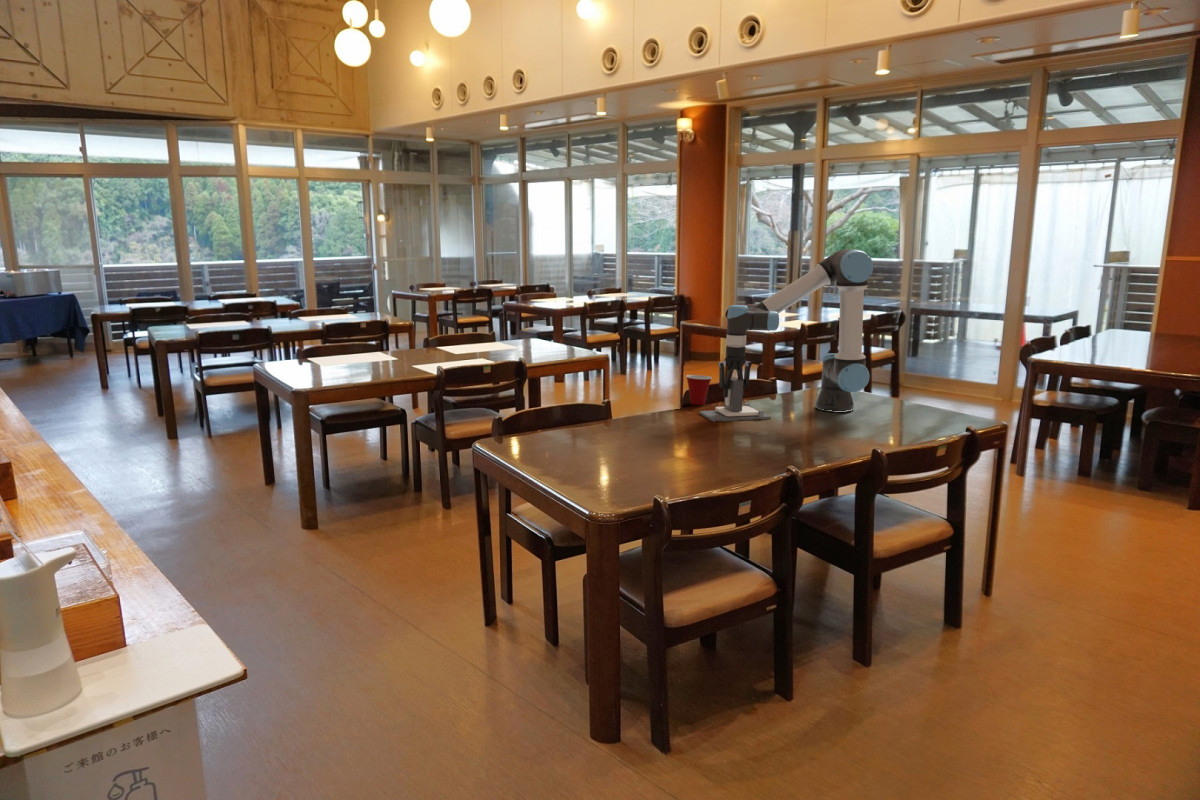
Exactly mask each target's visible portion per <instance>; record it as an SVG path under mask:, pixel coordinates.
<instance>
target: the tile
mask: <svg viewBox="0 0 1200 800" xmlns="http://www.w3.org/2000/svg"><path fill="white" fill-rule="evenodd" d="M755 409H756V408H753V407H750V405H749V406H744V405H742V411H735V412H732V411H730V410H728V409H727V408H725V407H724V406H715V410H716V411H718V412H720V413H721V414H723V415H725V416H727V417H734V416H758V414H759V411H757V410H758V409H757V410H755Z"/></svg>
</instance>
